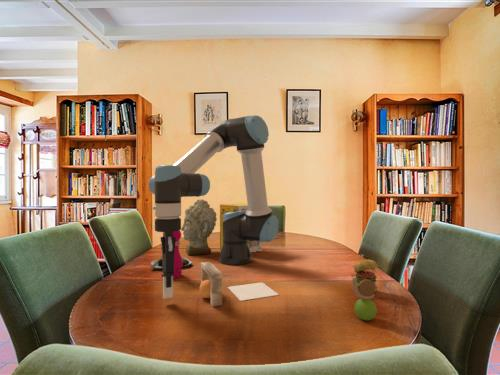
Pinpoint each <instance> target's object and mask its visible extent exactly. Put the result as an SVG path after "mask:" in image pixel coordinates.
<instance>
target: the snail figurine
mask: <svg viewBox="0 0 500 375" xmlns="http://www.w3.org/2000/svg"><path fill="white" fill-rule="evenodd" d="M351 283H352V289H353V292H354V294H355V296H356V297H357V298H359V299H357V300H356V301H355V303H354V307H353V308H354V312H355V315H356V316H357V317H358V318H359V319H361V320H362V321H371V320H373V319H375V317H376V315H377V311H378V310H377V306H376V304H375V303H374V301H373V300H371V299H373V298H375V293H376V292H375V285H374V283H373V282H372V281H371V280H367V279H365V280H362V281H361V282H360V283H359V284H358V287H357V279H356V277H355V274H354V273H351ZM374 292H375V293H374Z"/></svg>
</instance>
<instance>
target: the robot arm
mask: <svg viewBox="0 0 500 375" xmlns="http://www.w3.org/2000/svg"><path fill="white" fill-rule="evenodd" d="M269 135H270V134H269V128H268V125H267V123H266V121H265V120H264V119H263V117H261V116H260V115H246V116H242V117H241V116H239V117H236V118H229V119H226V120H224V121H222V122H220V123H219V124H217V125H215V126H214V127H212V129H210V130H208V132H206V133H205V135H204V137H203V139H202V140H201V141H199V143H197V144H196V145H195V146H194V147H192V148H191V149H190V150H189V151H188V152H187V153H186V154H184V155H183V156H182V157H181V158H180V159H179V160H177V161H176V162H175V163H173V164H172V165H171V164H165V165H164V164H162V165H161V164H160V165H156V167H155V168H154V175H152V176H151V178H149V181H148V189H149V192H151V193H152V194H153V195H154V206H152V210H153V211H154V216H155V217H156V218H155V219H154V231H155V232H156V233H162V236H160V243H161V246H160V247H161V255H162V256H161V258H162V264H163V267H162V270H163V271H162V273H161V278H162V292H163V293H162V298H163V299H170V298H173V297H174V278H173V275H174V257H175V247H176V245H175V243H176V238H175V237H174V236H173V232H174V231H179V230H180V231H182V230H181V228H182V219H181V216H182V198H187V197H189V198H191V197H195V198H196V197H198V198H199V197H204V196H206V195H207V194H209V191H210V189H211V181H210V179H209V177H208V176H207V175H206V174H204V173H203V174H202V173H199V172H198V171H199V170H200V168H202V167H203V166H204V165H205V164H206V163H207V162H208V161H209V160H210V159H212V157H214V156H215V154H217V153H221V152H222V151H223V150H225V149H227V148H231V147H236V151H237V152H238V153H239V154H240V155H241V156H240V157H241V163H242V171H243V172H242V173H243V177H244V178H243V179H244V187H245V195H246V201H247V203H246V204H248V210H247V211H238V212H229V213H225V214H224V215H223V246H222V249H221V250H220V252H219V256H218V257H219V258H218V260H219V261H218V262H220V263H221V264H225V265H231V266H232V265H235V266H237V265H246V264H249V263H251V262H252V260H253V258H252V257H253V256H252V253H251V252H250V249H249V246H248V240H253V241H260V242H262V243H270V242H272V241H273V240H274V239H275V238H276V236H277V234H278V232H279V225H280V224H279V223H280V222H279V218H278V217H277V216H276V215H274V214H273V210H272V208H271V207H269V205H268V197H267V188H266V181H265V173H264V164H263V163H264V162H263V155H262V151H263V150H264V149H265V143H267V142H268V140H269ZM196 172H198V173H196Z"/></svg>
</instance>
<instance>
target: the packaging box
mask: <svg viewBox="0 0 500 375" xmlns="http://www.w3.org/2000/svg"><path fill="white" fill-rule="evenodd" d="M247 210H248V203H228V204H227V203H226V204H225V203H223V204H219V250H220V251H221V249H222V246H223V215H224V214H225V213H229V212H238V211H247ZM248 246H249V249H250V252H254V253H257V252H256V251H259V252H261V250H262V251H263V242H260V241H253V240H248Z"/></svg>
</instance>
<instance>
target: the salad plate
mask: <svg viewBox="0 0 500 375" xmlns="http://www.w3.org/2000/svg"><path fill="white" fill-rule="evenodd" d="M181 258H182V261H183V266H182V268H181V269H180V270H183V269H188V268H190V267H191V266H192V265H193V262H192V261H191V260H189V258H187V257H181ZM150 263H151V266H150V268H151V269H154V270H155V271H158V272H159V271H161V272H163V270H162V267H163V264H162V257H161V258H159V259H156V260H153V261H151V262H150Z"/></svg>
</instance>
